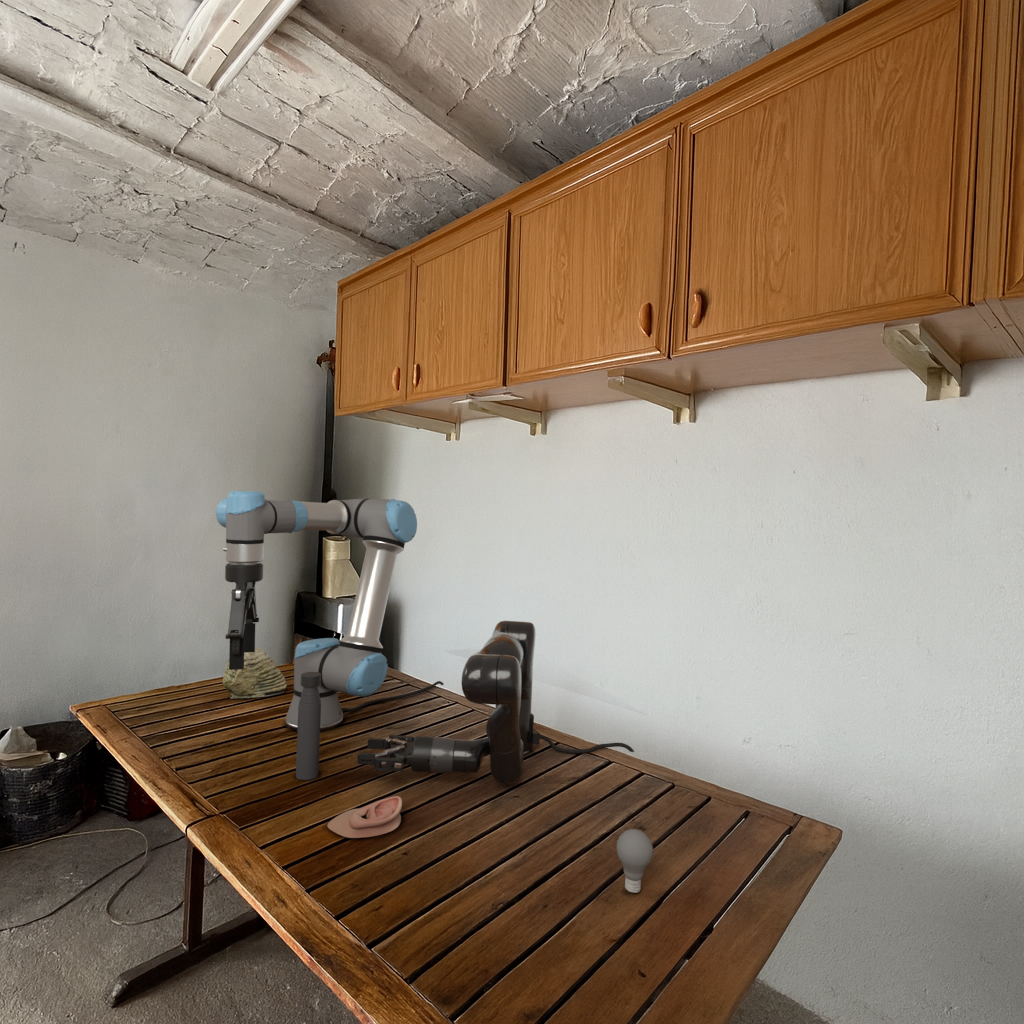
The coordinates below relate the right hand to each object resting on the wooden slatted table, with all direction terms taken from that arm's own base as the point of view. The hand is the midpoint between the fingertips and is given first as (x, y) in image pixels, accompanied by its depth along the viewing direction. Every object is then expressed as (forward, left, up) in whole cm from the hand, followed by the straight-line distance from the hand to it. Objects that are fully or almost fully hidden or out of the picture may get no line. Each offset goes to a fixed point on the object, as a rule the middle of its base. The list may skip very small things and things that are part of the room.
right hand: (362, 750), depth 143 cm
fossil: (+22, -69, -7) cm, 73 cm away
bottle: (+11, -6, -7) cm, 14 cm away
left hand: (+26, -5, +21) cm, 33 cm away
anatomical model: (+3, +20, -7) cm, 21 cm away
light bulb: (-35, +55, -7) cm, 66 cm away
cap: (+11, -6, +16) cm, 21 cm away
